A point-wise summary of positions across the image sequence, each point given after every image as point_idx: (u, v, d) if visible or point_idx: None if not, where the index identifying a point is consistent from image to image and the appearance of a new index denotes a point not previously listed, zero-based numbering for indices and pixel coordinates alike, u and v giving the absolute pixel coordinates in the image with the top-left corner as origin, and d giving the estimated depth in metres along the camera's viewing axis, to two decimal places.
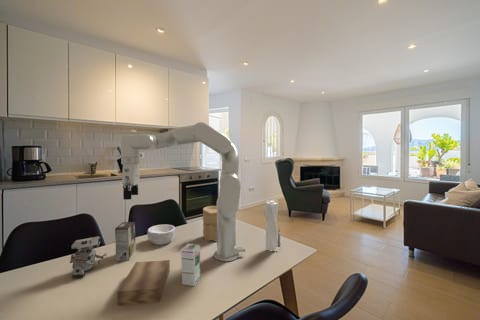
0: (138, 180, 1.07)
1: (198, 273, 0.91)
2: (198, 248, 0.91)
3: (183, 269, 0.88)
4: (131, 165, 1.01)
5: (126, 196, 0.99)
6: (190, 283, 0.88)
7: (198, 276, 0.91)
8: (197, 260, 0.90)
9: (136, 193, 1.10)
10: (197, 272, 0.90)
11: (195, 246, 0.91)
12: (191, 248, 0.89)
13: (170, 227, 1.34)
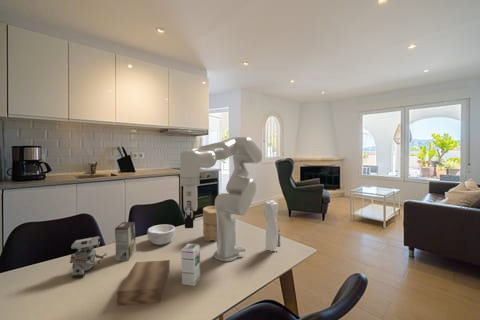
0: (197, 203, 0.92)
1: (198, 273, 0.91)
2: (198, 248, 0.91)
3: (183, 269, 0.88)
4: (194, 187, 0.85)
5: (188, 224, 0.84)
6: (190, 283, 0.88)
7: (198, 276, 0.91)
8: (197, 260, 0.90)
9: (193, 218, 0.94)
10: (197, 272, 0.90)
11: (195, 246, 0.91)
12: (191, 248, 0.89)
13: (170, 227, 1.34)
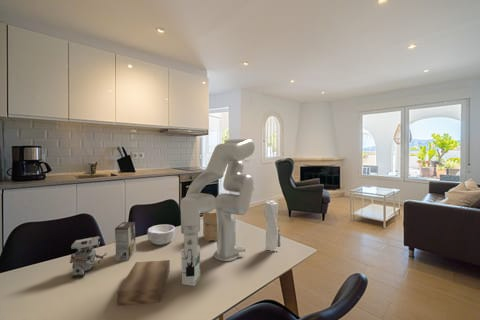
0: None
1: (198, 273, 0.91)
2: (198, 248, 0.91)
3: (183, 269, 0.88)
4: (194, 236, 0.86)
5: (189, 273, 0.86)
6: (190, 283, 0.88)
7: (198, 276, 0.91)
8: (197, 260, 0.90)
9: None
10: (197, 272, 0.90)
11: None
12: None
13: (170, 227, 1.34)
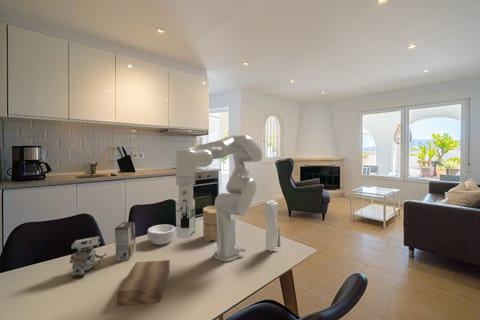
0: None
1: (193, 227, 0.89)
2: (193, 202, 0.90)
3: (178, 222, 0.87)
4: (189, 186, 0.85)
5: (184, 224, 0.85)
6: (185, 236, 0.87)
7: (193, 230, 0.89)
8: (192, 214, 0.89)
9: None
10: (192, 226, 0.89)
11: None
12: None
13: (170, 227, 1.34)
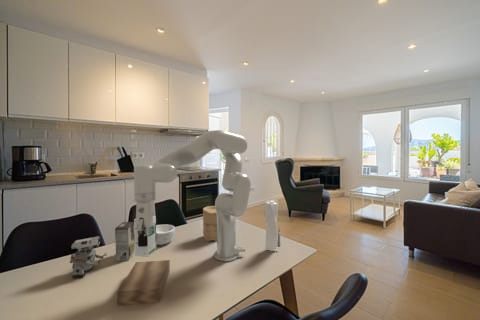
0: None
1: (153, 245, 0.87)
2: (153, 218, 0.87)
3: (136, 239, 0.84)
4: (147, 204, 0.82)
5: (141, 243, 0.82)
6: (143, 254, 0.84)
7: (153, 248, 0.87)
8: (152, 231, 0.86)
9: None
10: (152, 243, 0.86)
11: None
12: None
13: (170, 227, 1.34)
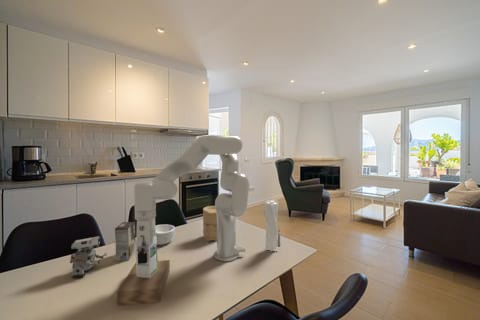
0: (154, 235, 0.89)
1: (154, 265, 0.87)
2: (155, 239, 0.88)
3: None
4: (147, 221, 0.82)
5: (141, 260, 0.81)
6: (145, 275, 0.85)
7: (154, 268, 0.87)
8: (154, 252, 0.87)
9: None
10: (153, 264, 0.87)
11: None
12: None
13: (170, 227, 1.34)
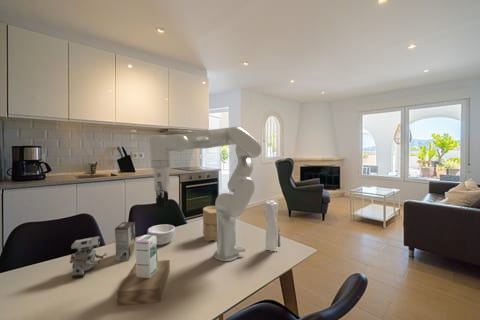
0: (169, 185, 0.97)
1: (154, 265, 0.87)
2: (154, 239, 0.88)
3: (137, 261, 0.85)
4: (163, 169, 0.91)
5: (159, 204, 0.90)
6: (145, 275, 0.85)
7: (154, 268, 0.87)
8: (154, 252, 0.87)
9: (166, 199, 1.00)
10: (153, 264, 0.87)
11: (151, 237, 0.87)
12: (146, 239, 0.85)
13: (170, 227, 1.34)
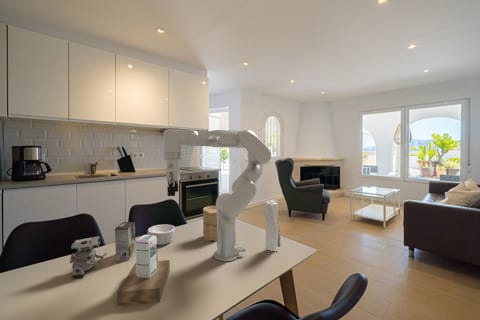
0: (179, 176, 1.05)
1: (154, 265, 0.87)
2: (154, 239, 0.88)
3: (137, 261, 0.85)
4: (175, 161, 0.98)
5: (170, 192, 0.97)
6: (145, 275, 0.85)
7: (154, 268, 0.87)
8: (154, 252, 0.87)
9: (176, 190, 1.07)
10: (153, 264, 0.87)
11: (151, 237, 0.87)
12: (146, 239, 0.85)
13: (170, 227, 1.34)
